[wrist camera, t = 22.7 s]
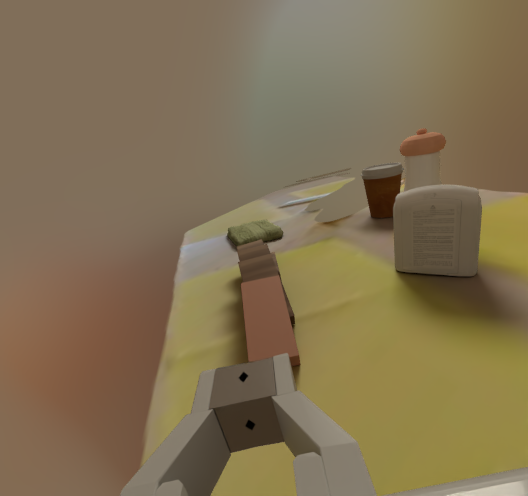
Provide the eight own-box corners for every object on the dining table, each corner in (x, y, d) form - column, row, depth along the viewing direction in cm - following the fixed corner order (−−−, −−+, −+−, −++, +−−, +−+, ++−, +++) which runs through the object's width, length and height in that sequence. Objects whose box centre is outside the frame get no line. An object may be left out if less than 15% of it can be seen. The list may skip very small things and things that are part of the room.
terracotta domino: (299, 355, 27) (278, 275, 35) (249, 365, 27) (240, 283, 35) (300, 364, 28) (280, 285, 37) (252, 374, 28) (243, 293, 37)
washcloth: (267, 225, 86) (265, 215, 85) (286, 238, 69) (284, 226, 68) (226, 236, 83) (223, 225, 82) (236, 252, 67) (233, 240, 66)
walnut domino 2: (278, 271, 44) (261, 239, 53) (248, 280, 43) (236, 246, 52) (280, 280, 45) (263, 248, 54) (251, 290, 44) (238, 255, 53)
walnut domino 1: (286, 296, 38) (266, 243, 46) (250, 306, 37) (237, 251, 45) (287, 305, 39) (268, 252, 47) (252, 314, 39) (239, 259, 47)
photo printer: (477, 265, 39) (482, 178, 35) (478, 280, 36) (484, 185, 32) (397, 262, 45) (394, 186, 41) (392, 274, 42) (388, 193, 38)
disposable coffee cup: (368, 222, 67) (364, 172, 63) (361, 213, 76) (357, 168, 72) (410, 216, 65) (409, 163, 61) (398, 207, 74) (396, 161, 70)
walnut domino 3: (294, 315, 33) (270, 253, 41) (254, 327, 33) (238, 262, 41) (294, 323, 35) (271, 262, 43) (256, 335, 34) (240, 270, 42)
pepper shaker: (395, 232, 57) (390, 134, 51) (430, 225, 57) (430, 126, 51) (414, 243, 50) (411, 131, 44) (454, 235, 50) (457, 122, 44)
